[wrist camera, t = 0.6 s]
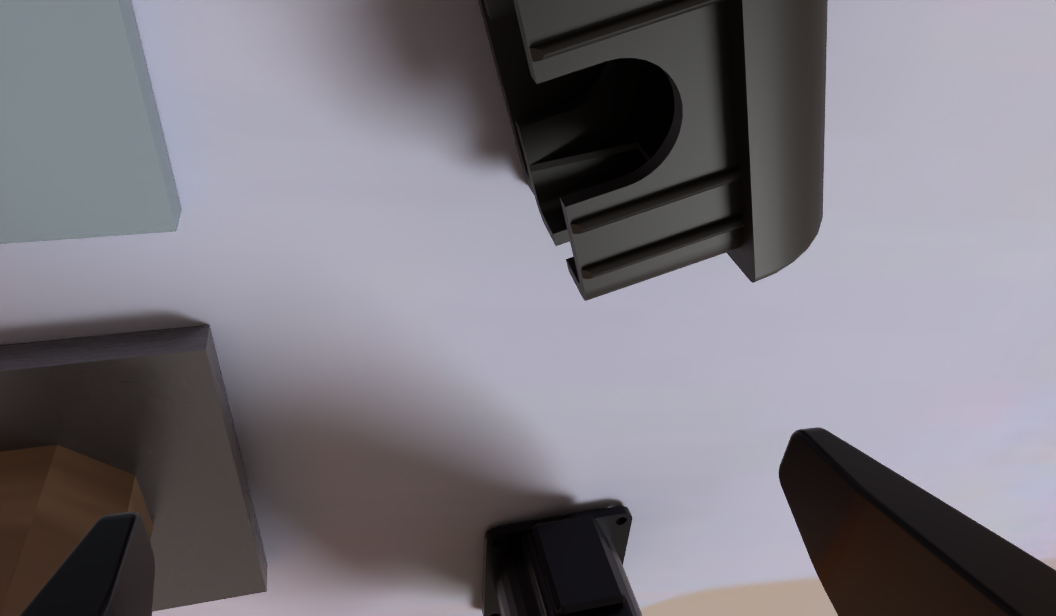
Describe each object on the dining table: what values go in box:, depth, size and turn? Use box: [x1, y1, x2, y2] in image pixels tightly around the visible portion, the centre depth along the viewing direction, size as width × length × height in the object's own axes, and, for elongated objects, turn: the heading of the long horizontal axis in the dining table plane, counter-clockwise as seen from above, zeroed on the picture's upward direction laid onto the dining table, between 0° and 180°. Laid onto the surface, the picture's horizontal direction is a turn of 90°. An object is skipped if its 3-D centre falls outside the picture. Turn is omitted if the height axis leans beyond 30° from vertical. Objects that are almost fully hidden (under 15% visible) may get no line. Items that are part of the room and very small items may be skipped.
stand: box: [0, 325, 267, 611], centre depth 23 cm, size 12×12×7 cm
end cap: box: [478, 0, 827, 301], centre depth 18 cm, size 10×7×7 cm
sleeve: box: [0, 444, 153, 616], centre depth 22 cm, size 6×6×7 cm
